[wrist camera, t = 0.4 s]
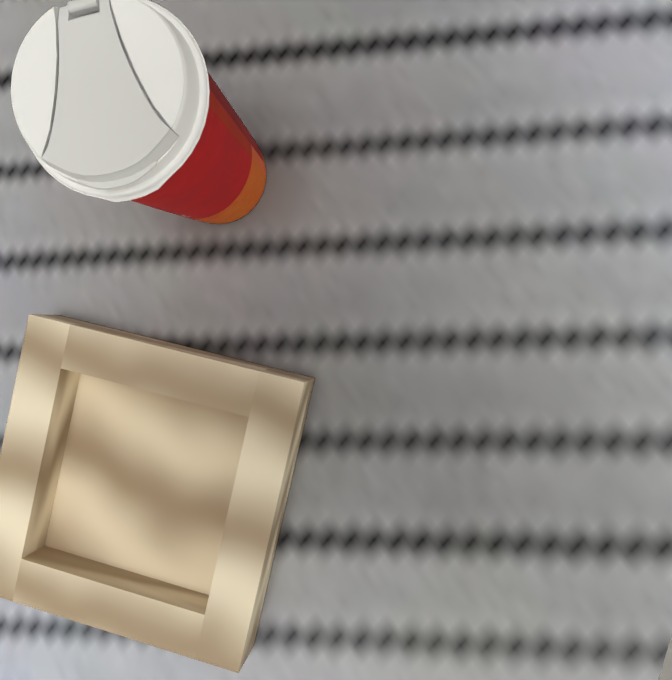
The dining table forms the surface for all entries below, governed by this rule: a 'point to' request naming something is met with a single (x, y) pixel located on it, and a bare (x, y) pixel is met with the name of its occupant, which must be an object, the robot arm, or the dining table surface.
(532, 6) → the dining table surface
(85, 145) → the paper cup
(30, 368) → the tray
